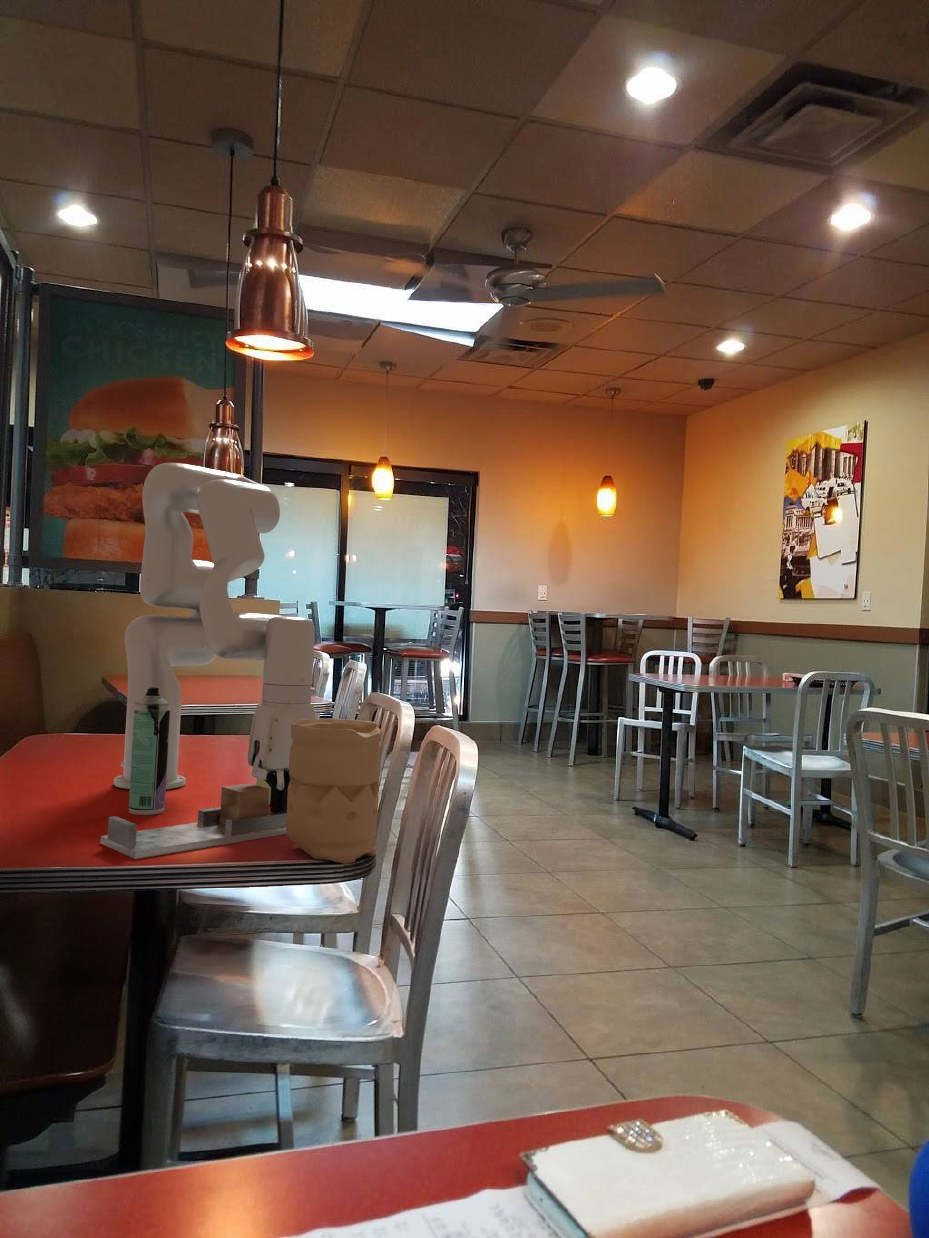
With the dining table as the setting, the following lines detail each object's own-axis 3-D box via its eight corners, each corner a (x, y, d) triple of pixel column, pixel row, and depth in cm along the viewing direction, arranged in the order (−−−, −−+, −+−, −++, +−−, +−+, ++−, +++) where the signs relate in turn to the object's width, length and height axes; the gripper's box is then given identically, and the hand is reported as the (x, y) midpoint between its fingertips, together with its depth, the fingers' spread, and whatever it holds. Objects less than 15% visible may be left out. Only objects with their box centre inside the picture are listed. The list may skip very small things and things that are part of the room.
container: (387, 846, 127) (393, 722, 127) (357, 869, 115) (364, 731, 115) (306, 837, 130) (312, 716, 130) (268, 858, 118) (275, 724, 118)
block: (219, 823, 132) (221, 786, 132) (248, 819, 135) (250, 783, 135) (238, 829, 128) (240, 792, 128) (267, 825, 132) (269, 788, 132)
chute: (100, 843, 121) (102, 814, 121) (255, 820, 139) (256, 795, 139) (135, 859, 114) (137, 828, 114) (293, 832, 132) (294, 806, 132)
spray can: (170, 812, 142) (177, 688, 142) (138, 816, 138) (145, 689, 138) (154, 806, 145) (160, 685, 146) (122, 810, 141) (129, 686, 142)
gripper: (310, 692, 145) (304, 803, 145) (231, 694, 134) (225, 815, 134) (339, 696, 140) (333, 812, 140) (260, 699, 129) (253, 824, 129)
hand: (280, 813), depth 137 cm, fingers closed
